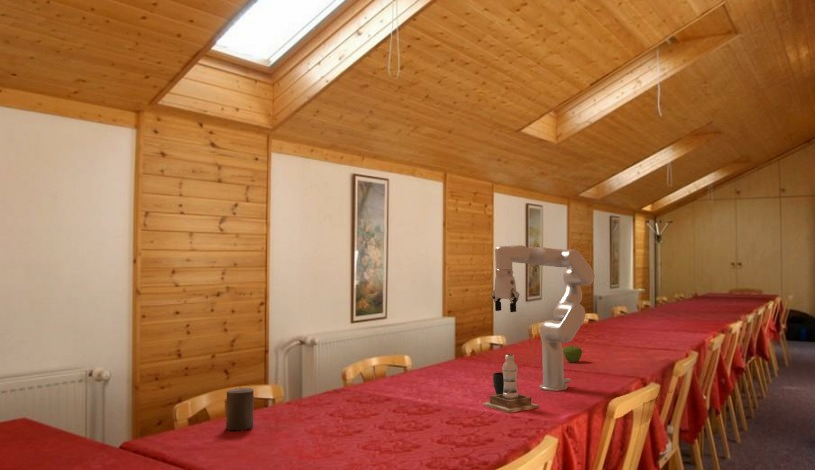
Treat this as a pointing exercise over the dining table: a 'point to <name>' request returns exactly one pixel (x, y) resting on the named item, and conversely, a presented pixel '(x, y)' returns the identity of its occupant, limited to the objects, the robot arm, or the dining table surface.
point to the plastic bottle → (510, 378)
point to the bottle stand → (510, 403)
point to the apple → (572, 353)
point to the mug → (498, 382)
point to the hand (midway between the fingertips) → (505, 311)
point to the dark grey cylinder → (239, 409)
